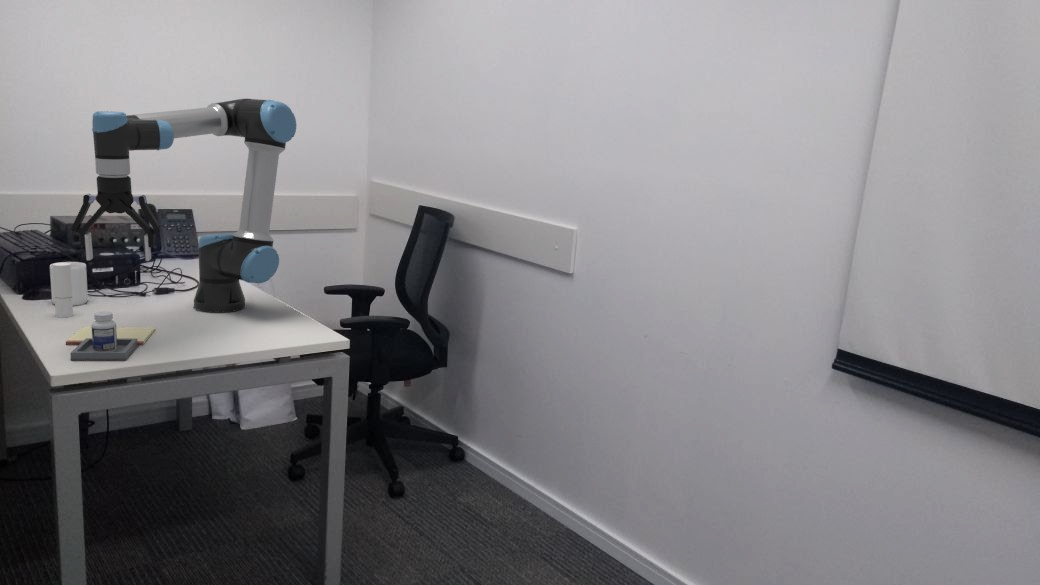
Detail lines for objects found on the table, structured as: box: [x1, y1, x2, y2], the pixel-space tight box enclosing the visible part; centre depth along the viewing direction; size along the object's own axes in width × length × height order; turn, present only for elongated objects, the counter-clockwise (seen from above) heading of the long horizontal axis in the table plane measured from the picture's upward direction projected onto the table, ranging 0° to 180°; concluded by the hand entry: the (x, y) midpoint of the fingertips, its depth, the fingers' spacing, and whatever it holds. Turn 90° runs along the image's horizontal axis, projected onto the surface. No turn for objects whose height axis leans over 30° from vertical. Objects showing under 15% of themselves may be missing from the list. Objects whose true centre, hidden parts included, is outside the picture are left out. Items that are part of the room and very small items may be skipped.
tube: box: [52, 262, 74, 318], centre depth 220 cm, size 4×4×15 cm
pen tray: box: [70, 338, 139, 362], centre depth 193 cm, size 12×12×2 cm
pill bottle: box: [91, 310, 117, 352], centre depth 192 cm, size 5×5×10 cm
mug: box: [49, 261, 89, 307], centre depth 235 cm, size 10×12×12 cm
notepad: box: [65, 326, 156, 346], centre depth 206 cm, size 18×14×1 cm
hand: (119, 259), depth 196 cm, fingers open, 13 cm apart
